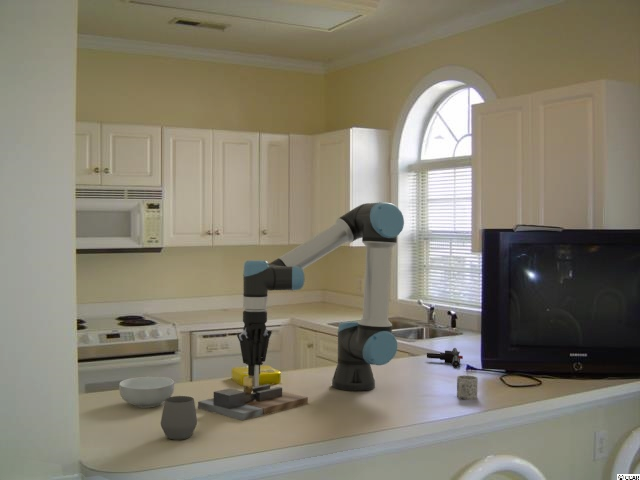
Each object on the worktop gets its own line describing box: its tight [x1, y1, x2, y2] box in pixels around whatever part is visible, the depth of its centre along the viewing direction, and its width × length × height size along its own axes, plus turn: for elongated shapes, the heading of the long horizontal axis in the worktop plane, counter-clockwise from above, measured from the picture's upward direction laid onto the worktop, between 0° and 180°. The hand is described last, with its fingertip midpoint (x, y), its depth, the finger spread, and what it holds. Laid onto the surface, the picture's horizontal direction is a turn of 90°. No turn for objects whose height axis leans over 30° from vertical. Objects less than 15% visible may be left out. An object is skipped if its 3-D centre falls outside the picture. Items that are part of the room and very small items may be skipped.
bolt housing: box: [213, 384, 283, 409], centre depth 220 cm, size 22×7×4 cm, turn 139°
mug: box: [456, 374, 478, 400], centre depth 237 cm, size 10×7×7 cm, turn 145°
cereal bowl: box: [118, 376, 175, 408], centre depth 221 cm, size 17×17×7 cm
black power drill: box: [426, 347, 463, 368], centre depth 301 cm, size 5×20×15 cm
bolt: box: [243, 376, 256, 402], centre depth 217 cm, size 10×3×7 cm, turn 139°
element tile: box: [231, 364, 282, 387], centre depth 259 cm, size 15×15×5 cm
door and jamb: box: [197, 391, 309, 421], centre depth 221 cm, size 28×20×2 cm
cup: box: [160, 395, 198, 441], centre depth 187 cm, size 10×9×10 cm
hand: (253, 385), depth 221 cm, fingers closed
